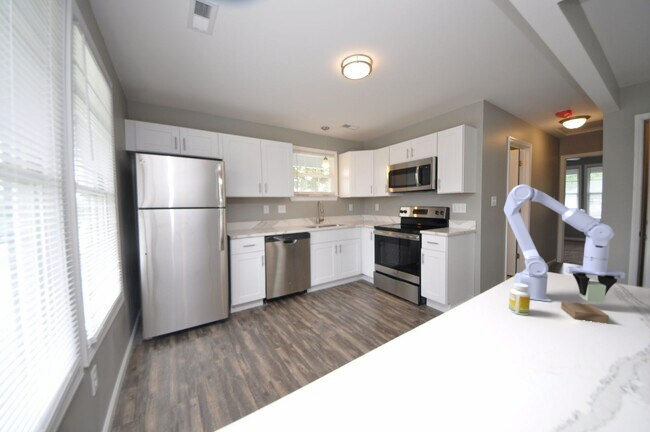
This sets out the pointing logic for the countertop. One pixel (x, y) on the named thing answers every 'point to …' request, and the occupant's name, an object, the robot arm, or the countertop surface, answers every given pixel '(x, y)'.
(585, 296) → the sage block
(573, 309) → the walnut block
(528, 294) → the supplement bottle
